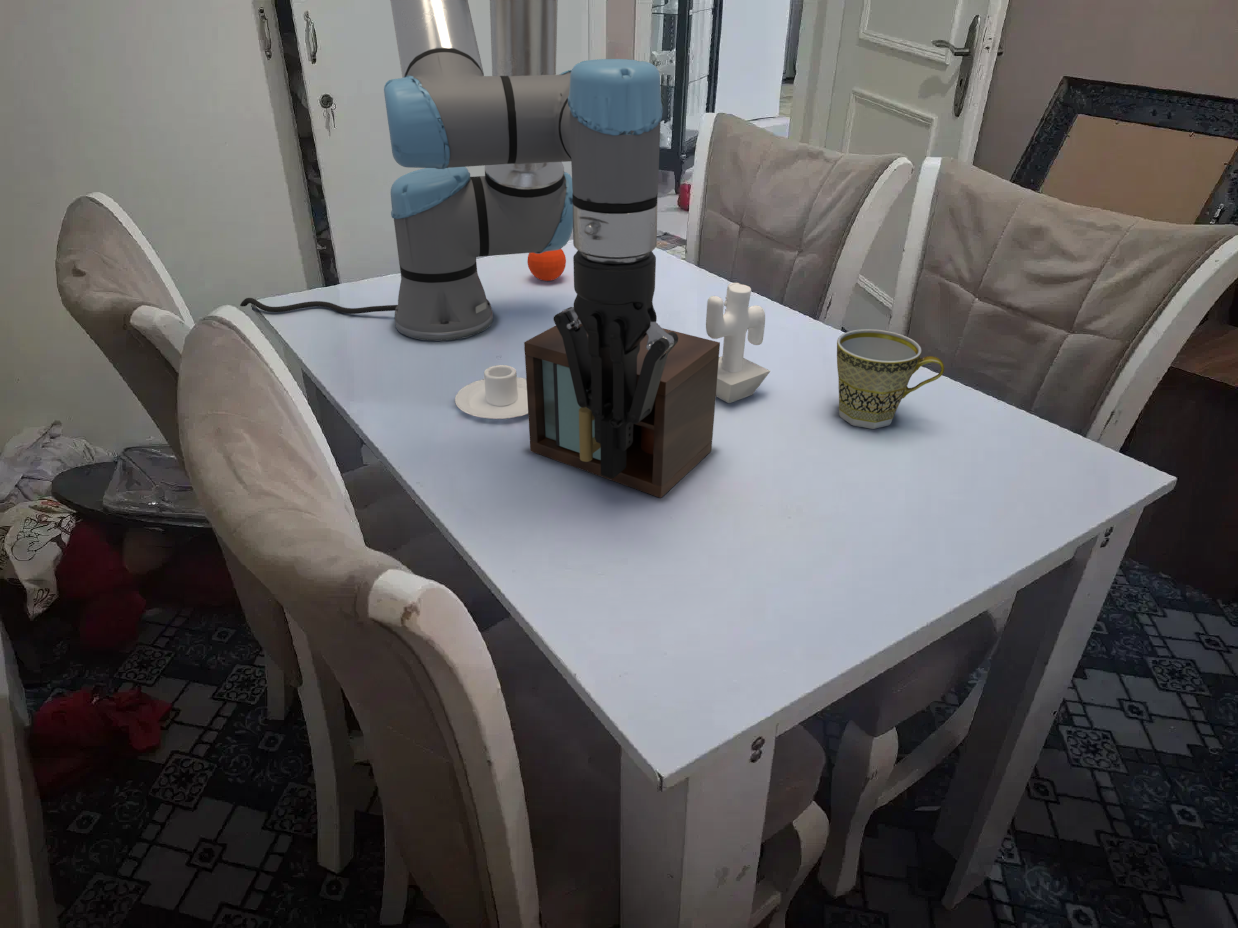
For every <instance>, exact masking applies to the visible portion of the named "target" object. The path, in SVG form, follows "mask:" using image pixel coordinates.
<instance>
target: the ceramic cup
mask: <svg viewBox="0 0 1238 928" xmlns="http://www.w3.org/2000/svg"><path fill="white" fill-rule="evenodd" d="M922 352H923V351H922V347H921V345H920V344H919V343H918V342H917V341H915V340H914V339H912V338H911V337H908V336H906V335H903V334H902V333H897V332H894V331H890V330H884V329H875V328H874V329H873V328H865V329H864V328H862V329H861V328H860V329H854V330H849V331H847V332H844V333H841V334H840V335H839V337H837V340H836V367H837V368H836V369H837V376H838V417H839V418H841V419H842V420H844V422H846V423H848V424H849V425H851V426H854V427H858V428H865V429H871V430H875V429H878V428H883V427H887V426H890V425H891V424H892V423H893V420H894V417H895V415H896V412H897V409H898V408H899V406H900V404H901V402H902V400H903V399H905V398H906V397H907V396H908V395H909V394H911V393H913V392H914V391H916V390H918V389H920V388H921V387H923V386H925V385H926V384H930V383H932V382H935V381H936V380H938V379H940V378H941V377H942V376H943V374H944V373H945V364H944V362H943V360H942V359H941V358H939V357H937V356H933V355H927V356H923V357H921V355H922ZM931 363H933V364H938V365H939V366H940V371H939V373H938V374H936V375H934V376H933V377H930V378H927V379H925V380H923V381H921V382H919V383H918V384H916V385H915V386H913V387H908V384H909V382H910V379H911V378H912V376H913V375H914V374H915V373H916V372H917V371H918V370H919V369H920V368H921V367H922V366H924V365H926V364H931Z"/></svg>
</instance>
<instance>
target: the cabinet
mask: <svg viewBox="0 0 1238 928" xmlns="http://www.w3.org/2000/svg"><path fill="white" fill-rule="evenodd" d="M661 328H662V329H663V330H664V331H665V332H666V333H667V334H668V333H669V332H675V333H676V334H677V335H678V342H677V343H676V345H675V346H674V347H673V348H672V350H671V351H670V352H669V353H668V356H667V359H666V363H665V366H664V370H663V373H662V377H661V380H660V383H659V387H658V390H657V394H656V397H655V401H654V404H653V408H652V411H651V413H650V414H649V415H647V416H646V417H645V418H644V419H642V420H641V421H640V422H638V423H637V424H633V443H632V445H631V446H630V447H629V448H627V453H626V468H625V469H624V470H623V471H622V472H620V473H619V474H618V475H617V476H616V477H614V478H613V479H611V478H608V477H605V476H602V475H601V460H598V459H596V458H593V459H592V460H591V461H588V462H584V461H581V460H580V453H578V452H575V451H573V450H570V449H567V448H564V447H561V446H557V445H556V427H555V400H554V374H553V363H555V364H559V365H562V366H566V367H569V364H568V360H567V356H566V351H565V347H564V343H563V338H562V336H561V334H560V332H559V330H558V329H557V327H556V325H555V324H554V325H553V326H552V327H550V328H548V329H546V330H544V331H543V332H540V333H539V334H537V335H534V336H533V337H531V338H529V339H527V340H526V341H524V342H523V347H524V348H523V349H524V362H525V363H524V364H525V366H524V367H525V379H526V383H527V401H528V414H527V415H528V416H527V417H528V430H529V431H528V433H529V435H528V436H529V448H530V452H531V453H533V454H534V453H535V454H537V455H539V456H543V457H545V458H548V459H550V460H554V461H557V462H559V463H563V464H565V465H568V466H571V467H574V468H576V469H579V470H580V471H581V470H582V471H584V472H587V473H590V474H593V475H595V476H598V477H601V478H604V479H607V480H610V481H612V482H615V483H618V484H620V485H623V486H626V487H629V488H630V489H631V488H632V489H635V490H637V491H639V492H643V493H644V494H645V493H646V494H648V495H650V496H654V497H656V498H659V499H661V498H663V497H664V496H665V495H666V494H667V493H668V492H669V491H670V490H672V489H673V488H674V487H675V486H676V485H677V484H678V483H679V482H680V481H681V480H682V479H683V478H684V477H686V476H687V474H689V473H690V472H691V471H692V470H693V469H694V468H695V467H696V466H697V465H698V464H699V463H700V462H701V461H703V460H704V459H705V458H706V457H707V456H708V455H709V454H710V453H711V452H712V450H713V449H712V448H713V435H714V426H715V425H714V422H715V412H716V411H715V410H716V398H717V397H716V387H717V374H718V362H719V357H720V349H721V342H720V341H715V340H713V339H708V338H705V337H700V336H695V335H692V334H687V333H684V332H679V331H676V330H671V329H667V328H663V327H661ZM586 333H587V332H586ZM587 337H588V334H587ZM647 341H648V335H646V336H645V337H644V338H643V339H642V341H641V342H640V351H639V353H638V355H637V383H638V379H639V376H640V372H641V368H642V365H643V361H644V358H645V356H646V354H647V352H648V351H649V350H647V349H646V345H647Z"/></svg>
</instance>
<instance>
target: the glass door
mask: <svg viewBox="0 0 1238 928" xmlns="http://www.w3.org/2000/svg"><path fill="white" fill-rule="evenodd" d="M553 374H554V400H555V427H556V445H557V446H561V447H564V448H567V449H570V450H573V451H575V452H578V453H580V460H581V461H584V462H588V461H591V460H592V459H593V458H596V459H598V460H601V443H598V442H596V440H595V421H594V416H593V414H592V411H591V410H590V409H588V408H587V407H585V408H582V407H580V406H579V405H578V403H577V399H576V395H575V391H574V386H573V382H572V378H571V373H570V369H569V367H566V366H562V365H559V364H555V363H553ZM612 412H613V409H612Z"/></svg>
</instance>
